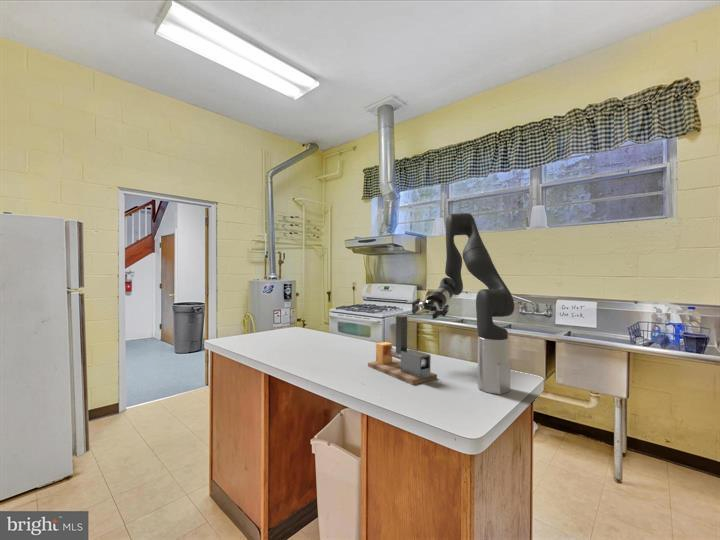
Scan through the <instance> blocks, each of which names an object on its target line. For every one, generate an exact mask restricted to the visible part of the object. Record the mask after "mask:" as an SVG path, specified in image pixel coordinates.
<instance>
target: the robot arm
mask: <svg viewBox="0 0 720 540" xmlns="http://www.w3.org/2000/svg"><path fill="white" fill-rule="evenodd" d="M445 219H446V220H445V246H446V247H445V249H446V252H445V253H446V261H445V271H444V272H445V273H444V274H445V276H447V277H443V278H442V279H441V280H440V283H439V287H438V288H437V289H435V290H433V291H432V292H431V293H430V294H429V295H428V296H427V298H426V299H424V300H421V298H417V299H416V300H414V301H413V302H412V303H411V312H412V314H413V315H415V314H417V312H418V311H421V312H422V311H431V312H433V313H432V319H433V320H435V319H438V317H440V316H442V317H446V315H447V314H448V312H449V310H450V308H449V307H450V306H449V305H450V304H448V302H449V301H450V299H451V298H452V297H453V295H454V296H459V295H460V294H461V293H463V289H464V284H463V283H464V282H463V279H462V269H463V268H462V267H463V263H464V264H465V267H466V269H467V271H468V272H469V273H470V274H471V275H472V276H473V277H475V278H476V279H477V280H479V281H480V282H481V283H483V284H484V285H485V286H486V288H484V289H483V288H482V289H479V290H478V292H477V294H476V298H475V309H476V310H475V311H476V329H477V388H478V389H479V390H481V391H482V392H486V393H488V394H489V393H490V394H495V395H496V394H497V395H504V394H505V393H509V392H510V391H511V362H510V361H508V356H509V355H508V353H509V352H508V351H509V350H508V347H509V345H508V344H509V343H508V341H509V339H508V338H509V334H508V333H509V332H508V330H507V329H506V328H504V327H501V326H498V325H497V324H495V323H494V321H493V318H499V317H500V318H501V317H502V318H505V317H510V316H511V315H512V314H513V313H514V311H515V301H514V298H513V295H512V292H510V290H509V288H508V286H507V285H506V283H505V282H504V280H503V279H502V278H501V276H500V274H499V272H498V270H497V268H496V266H495V265H494V263H493V261H492V257H491V255H490V253H489V251H488V249H487V247H486V245H485V244H484V242H483V239H482V237H481V235H480V232H479V230H478V227H477V223H476V221H475V218H474V216H473V215H472V214H471V213H468V212H459V213H450V214H448V215H447V217H446V218H445ZM455 236H456V237H457V236H466V237H467V238H468V239H467V242H466V244H465V245H464V248H463V250H462V253H461V252H460V250H459V249H458V248H457V246H456V244H455ZM461 254H462V255H461Z"/></svg>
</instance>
